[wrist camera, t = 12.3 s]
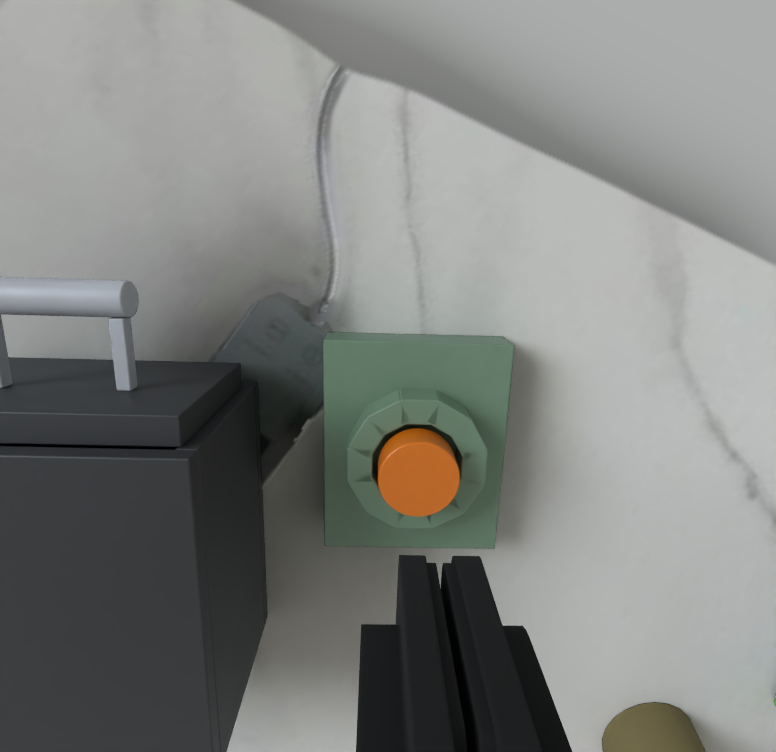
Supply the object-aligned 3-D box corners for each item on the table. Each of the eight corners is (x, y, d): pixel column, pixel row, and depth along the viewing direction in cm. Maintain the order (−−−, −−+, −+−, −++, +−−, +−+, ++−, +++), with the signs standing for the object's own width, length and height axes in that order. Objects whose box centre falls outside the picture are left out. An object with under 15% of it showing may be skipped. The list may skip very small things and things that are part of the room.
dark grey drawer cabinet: (12, 375, 25) (-198, 451, 16) (258, 381, 26) (189, 458, 16) (54, 613, 29) (-98, 784, 20) (267, 616, 29) (216, 786, 20)
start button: (379, 426, 23) (379, 441, 21) (457, 428, 23) (463, 443, 21) (377, 497, 24) (376, 516, 22) (452, 498, 24) (457, 518, 22)
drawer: (-8, 267, 23) (-195, 279, 16) (236, 274, 23) (168, 289, 16) (48, 590, 28) (-75, 720, 20) (252, 593, 28) (204, 722, 20)
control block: (327, 331, 25) (318, 347, 21) (503, 336, 25) (525, 353, 21) (328, 523, 28) (320, 568, 24) (486, 526, 28) (503, 571, 24)
